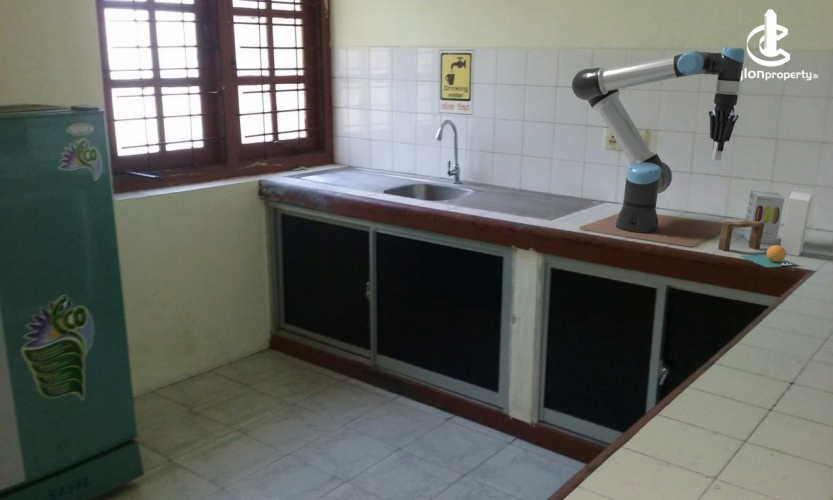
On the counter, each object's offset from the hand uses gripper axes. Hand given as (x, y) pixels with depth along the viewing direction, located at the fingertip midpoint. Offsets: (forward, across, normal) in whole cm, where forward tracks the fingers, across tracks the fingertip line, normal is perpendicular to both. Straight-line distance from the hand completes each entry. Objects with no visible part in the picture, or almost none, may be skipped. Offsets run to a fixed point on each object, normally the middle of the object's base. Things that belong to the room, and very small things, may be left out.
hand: (716, 159), depth 268 cm
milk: (+27, -30, -11) cm, 42 cm away
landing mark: (+26, -37, +4) cm, 46 cm away
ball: (+24, -38, +3) cm, 45 cm away
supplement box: (+27, -14, -12) cm, 32 cm away
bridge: (+26, -23, +4) cm, 35 cm away
